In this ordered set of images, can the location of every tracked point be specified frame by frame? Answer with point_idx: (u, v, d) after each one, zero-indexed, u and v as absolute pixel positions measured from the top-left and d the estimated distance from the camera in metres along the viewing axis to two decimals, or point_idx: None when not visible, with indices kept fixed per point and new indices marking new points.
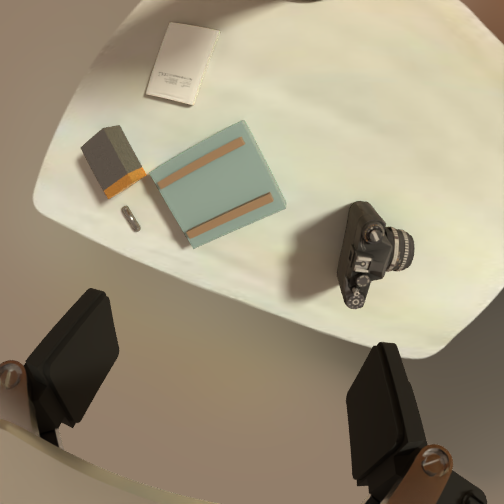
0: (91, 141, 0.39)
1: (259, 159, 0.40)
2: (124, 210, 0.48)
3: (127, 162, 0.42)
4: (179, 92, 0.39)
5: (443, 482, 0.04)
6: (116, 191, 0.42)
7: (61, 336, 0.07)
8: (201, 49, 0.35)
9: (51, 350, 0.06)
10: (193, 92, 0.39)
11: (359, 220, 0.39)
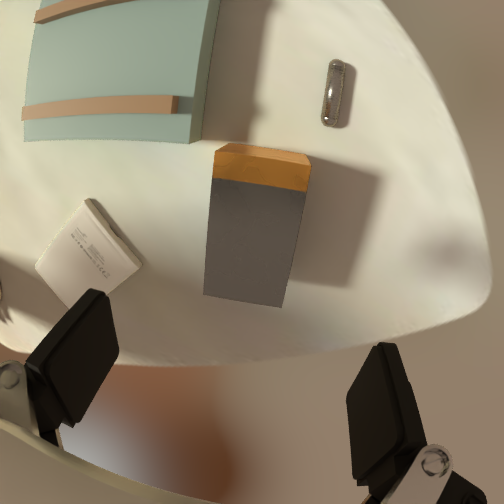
0: (247, 296, 0.21)
1: (29, 75, 0.16)
2: (330, 117, 0.19)
3: None
4: (91, 231, 0.24)
5: (444, 482, 0.04)
6: (273, 163, 0.17)
7: (61, 336, 0.07)
8: (52, 261, 0.27)
9: (51, 350, 0.06)
10: (75, 216, 0.24)
11: None
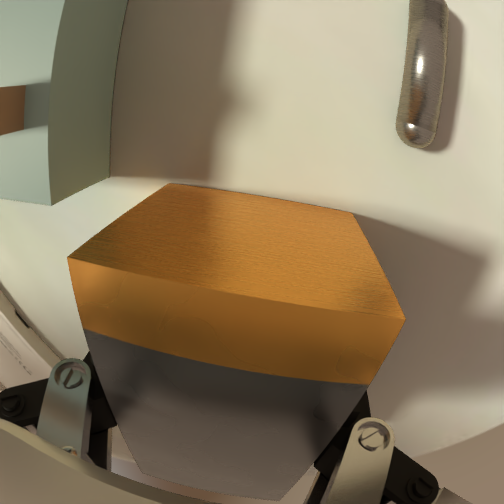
0: (216, 489, 0.09)
1: None
2: (423, 125, 0.06)
3: None
4: None
5: (389, 453, 0.05)
6: (266, 315, 0.04)
7: None
8: None
9: None
10: None
11: None
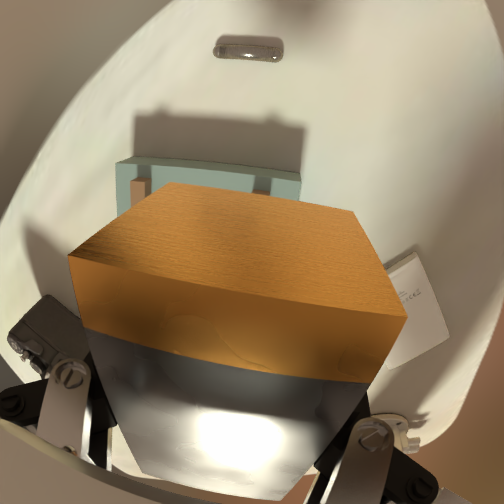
0: (217, 489, 0.09)
1: None
2: (273, 53, 0.18)
3: None
4: None
5: (389, 453, 0.05)
6: (268, 312, 0.04)
7: None
8: None
9: None
10: None
11: None
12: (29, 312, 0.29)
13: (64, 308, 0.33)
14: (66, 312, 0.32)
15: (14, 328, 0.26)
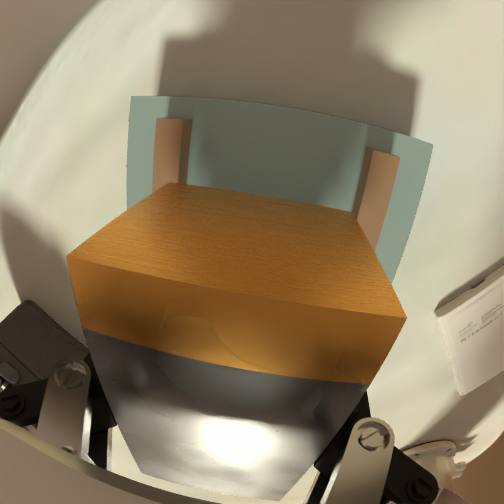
0: (216, 489, 0.09)
1: None
2: None
3: None
4: (470, 314, 0.17)
5: (389, 453, 0.05)
6: (266, 313, 0.04)
7: None
8: (470, 371, 0.19)
9: None
10: (447, 332, 0.18)
11: None
12: (2, 323, 0.19)
13: (49, 319, 0.23)
14: (51, 324, 0.23)
15: None
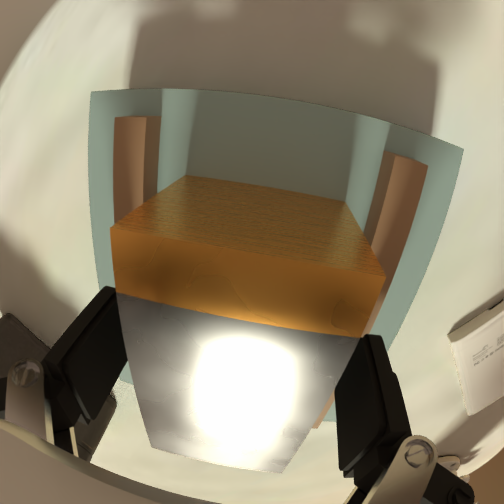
0: (223, 461, 0.10)
1: None
2: None
3: None
4: (486, 337, 0.14)
5: (429, 472, 0.05)
6: (274, 271, 0.06)
7: (79, 333, 0.07)
8: (480, 393, 0.17)
9: (70, 347, 0.07)
10: (461, 357, 0.15)
11: (84, 450, 0.17)
12: None
13: (30, 334, 0.20)
14: (32, 340, 0.20)
15: None
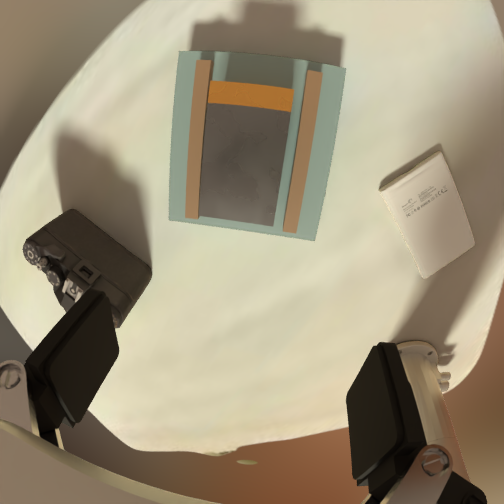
0: (240, 215, 0.22)
1: (251, 228, 0.28)
2: None
3: None
4: (407, 191, 0.26)
5: (444, 482, 0.04)
6: (260, 88, 0.17)
7: (61, 336, 0.07)
8: (424, 250, 0.29)
9: (51, 350, 0.06)
10: (392, 205, 0.27)
11: (127, 298, 0.29)
12: (51, 222, 0.28)
13: (89, 221, 0.32)
14: (91, 225, 0.32)
15: (33, 235, 0.25)
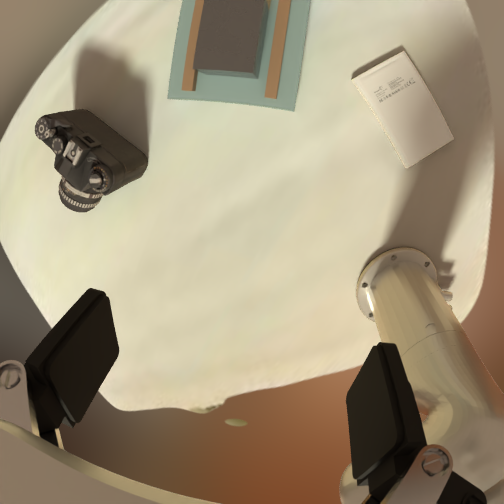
0: (225, 65, 0.23)
1: (237, 100, 0.29)
2: None
3: None
4: (377, 79, 0.27)
5: (444, 482, 0.04)
6: None
7: (61, 336, 0.07)
8: (403, 136, 0.30)
9: (51, 350, 0.06)
10: (364, 91, 0.28)
11: (121, 166, 0.30)
12: (64, 111, 0.29)
13: (97, 118, 0.33)
14: (99, 120, 0.33)
15: None
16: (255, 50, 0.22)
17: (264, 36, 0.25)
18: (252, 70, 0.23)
